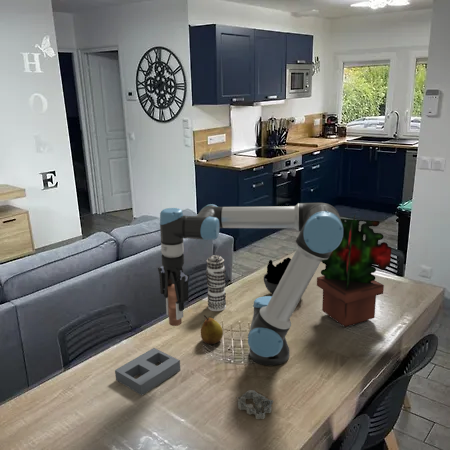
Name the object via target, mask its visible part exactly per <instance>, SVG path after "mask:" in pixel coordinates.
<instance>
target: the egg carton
mask: <svg viewBox="0 0 450 450" xmlns="http://www.w3.org/2000/svg"><path fill="white" fill-rule="evenodd" d="M235 399H237V406H238V410H240V411H243V410H245V411H246V414H248V415H254V416H255V419H256V420H260V419H261V420H264V419H265V418H266V414H270V413H272V405H273V403H274V400H272V399H269V398H267V397H266V396H265V395H262V394H261V393H258V392H257V391H255V389H249V390H247V391H245V393H242V395H241V397H240V395H239V396H236V397H235ZM250 399H252V402H253V403H254V404H252V403H247V402H246V400H250Z"/></svg>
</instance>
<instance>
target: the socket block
mask: <svg viewBox="0 0 450 450" xmlns="http://www.w3.org/2000/svg"><path fill="white" fill-rule="evenodd" d="M158 363H159V365H157V364H158ZM180 371H181V360H180V359H178V358H176V357H173V356H171V355H170V354H167V353H166V352H164V351H162V350H160V349H157V348H156V347H153V348H151V349H149V350H148V351H145V352H144V353H142V354H141V355H139V356H137V357H135V358H133V359H132V360H130V361H129V362H127V363H125V364H123V365H121V366H120V367H118V368H117V369H115V370H114V374H115V381H117V382H119V383H120V384H122V385H124V386H126V387H127V388H129V389H130V390H131V391H133V392H135V393H137V394H138V395H140V396H143V395H145V394H146V393H148V392H149V391H151V390H152V389H153V388H155V387H157V386H159V385H160V384H161V383H163V382H164V381H166V380H168V379H169V378H170V377H172V376H174V375H175V374H177V373H178V372H180ZM138 375H140V376H139V377H137V376H138ZM136 377H137V378H136Z"/></svg>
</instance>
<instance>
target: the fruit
mask: <svg viewBox="0 0 450 450" xmlns="http://www.w3.org/2000/svg"><path fill="white" fill-rule="evenodd" d="M203 317H204V318H205V320H204V322H203V323H202V326H201V328H200V337H201V340H202V341H203V342H204V343H205V344H207V345H211V346H213V345H215V344H217V343H219V342H220V341H221V340H222V338H223V335H224V331H223V327H222V326H221V323H219V322H218V321H217V320H215V319H214V318H212V317H207V316H206V315H203Z"/></svg>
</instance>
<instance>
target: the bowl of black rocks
mask: <svg viewBox="0 0 450 450" xmlns="http://www.w3.org/2000/svg"><path fill="white" fill-rule="evenodd" d="M291 259H292V258H291V257H287V258H284V259H283V260H282V262H281V261H280V262H279V263H277V264H275V265H274V263H273V260H272V259H270V260H269V261H268V264H267V265H266V273H265V274H264V275H263V283H264V285H265V288H266V289H267V291H268V292H269V293H270V294H271V295H273V294H274V292H275V290H276V288H277V286H278V284H279V282H280V280H281V278H282V276H283V274H284V273H285V271H286V269H287V267H288V265H289V263H290V261H291Z"/></svg>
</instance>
